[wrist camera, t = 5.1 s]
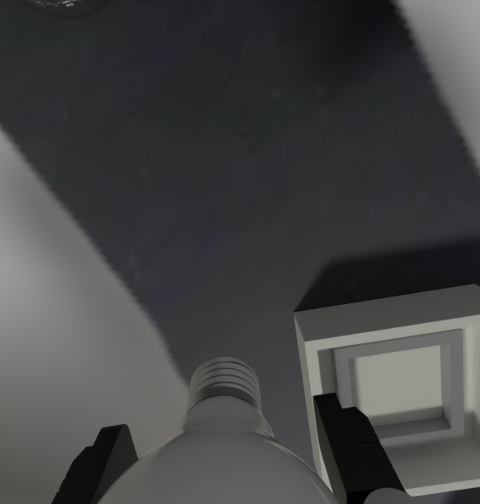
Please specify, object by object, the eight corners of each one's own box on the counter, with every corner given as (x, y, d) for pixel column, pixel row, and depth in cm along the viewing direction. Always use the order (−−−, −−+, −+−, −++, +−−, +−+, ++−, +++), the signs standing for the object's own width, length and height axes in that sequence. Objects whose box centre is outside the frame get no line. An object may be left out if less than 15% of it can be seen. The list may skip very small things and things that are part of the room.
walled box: (293, 312, 30) (304, 341, 26) (474, 283, 30) (520, 308, 25) (313, 458, 34) (326, 508, 29) (475, 435, 34) (515, 481, 29)
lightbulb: (178, 281, 14) (4, 694, 3) (328, 337, 15) (572, 817, 4) (127, 413, 15) (-103, 985, 5) (265, 457, 16) (326, 1036, 6)
